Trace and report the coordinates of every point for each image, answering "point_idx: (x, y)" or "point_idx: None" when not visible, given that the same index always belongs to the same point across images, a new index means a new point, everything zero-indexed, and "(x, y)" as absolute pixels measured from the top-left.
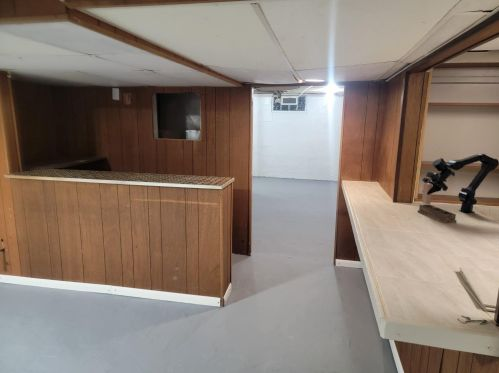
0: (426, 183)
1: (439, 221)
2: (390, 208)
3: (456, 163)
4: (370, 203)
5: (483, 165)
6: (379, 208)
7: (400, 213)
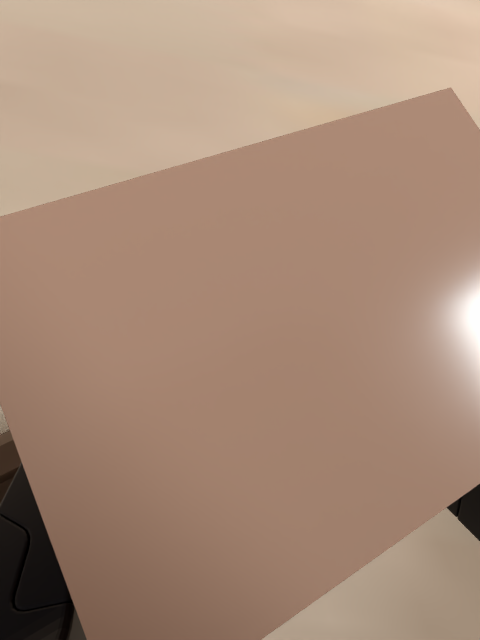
0: (364, 216)
1: None
2: (265, 122)
3: None
4: (376, 11)
5: None
6: (231, 37)
7: (95, 170)
